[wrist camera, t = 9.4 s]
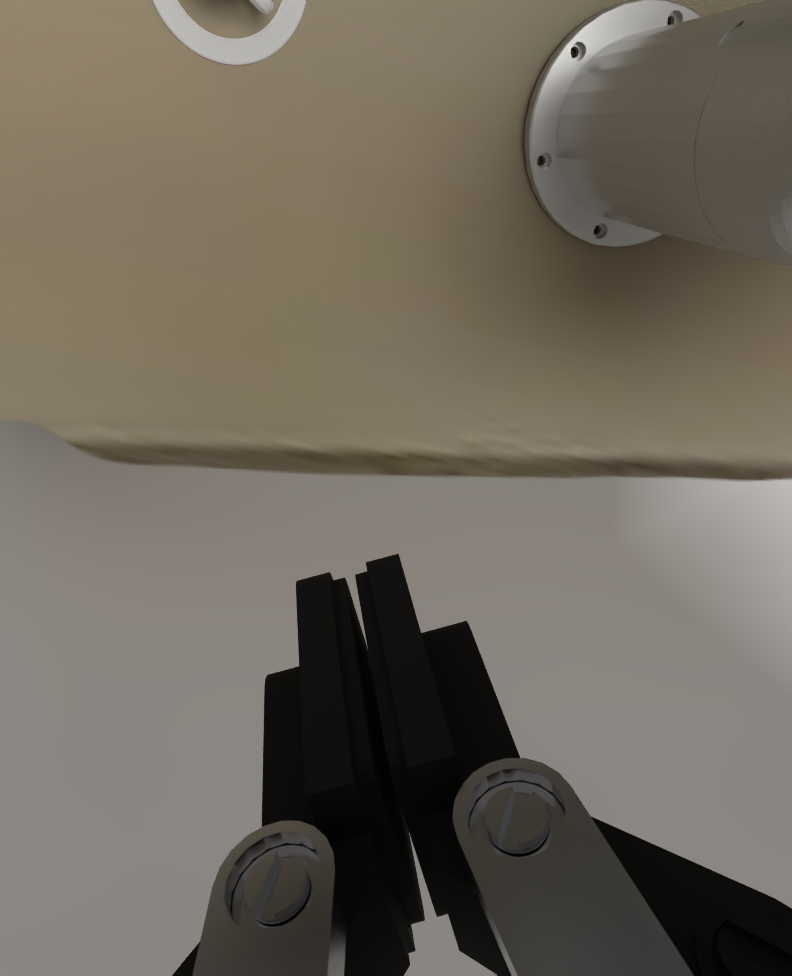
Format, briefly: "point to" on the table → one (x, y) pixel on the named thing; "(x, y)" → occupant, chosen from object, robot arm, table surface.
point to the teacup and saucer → (234, 49)
